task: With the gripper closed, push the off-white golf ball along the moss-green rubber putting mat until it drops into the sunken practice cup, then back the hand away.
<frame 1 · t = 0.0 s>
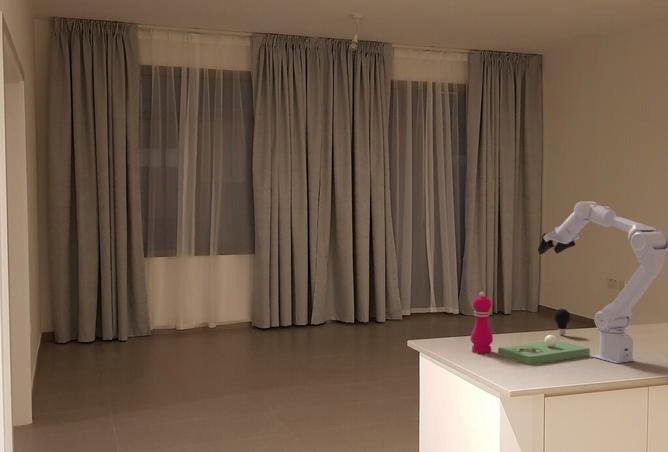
hand: (547, 251, 235), 32 cm above the countertop, tool tilted 50°, fingers open, 7 cm apart
putting mat: (543, 355, 216), on the countertop
pepper mill: (481, 352, 222), on the countertop
golf ball: (550, 341, 217), point 4 cm above the countertop, touching putting mat
light bulb: (561, 336, 248), on the countertop
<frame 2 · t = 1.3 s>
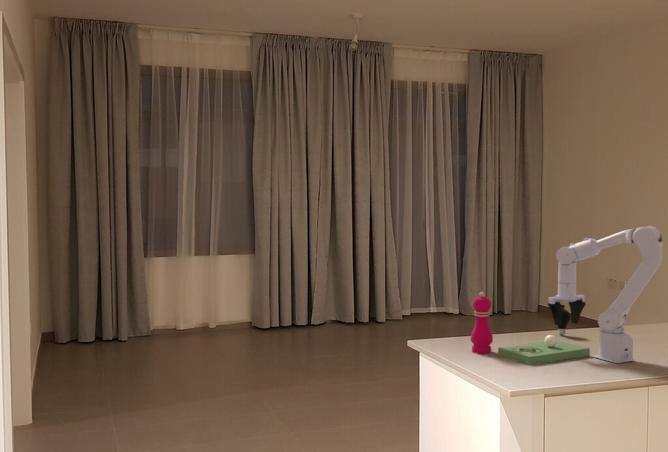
hand: (566, 324, 220), 9 cm above the countertop, tool pointing down, fingers open, 7 cm apart
nothing on the countertop moved.
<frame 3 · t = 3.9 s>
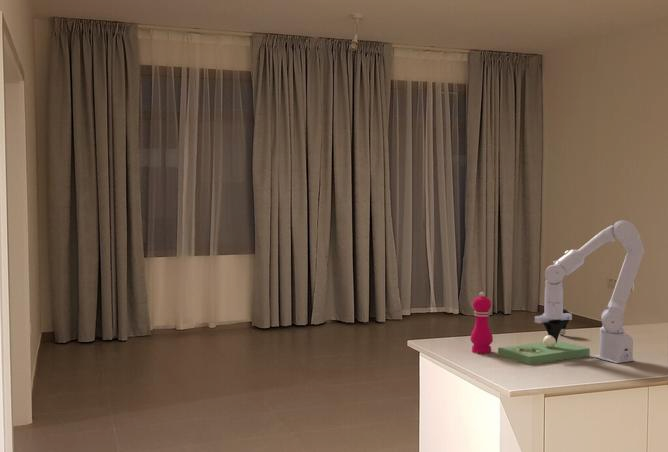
hand: (553, 343, 218), 4 cm above the countertop, tool pointing down, fingers closed, pressing on golf ball
golf ball: (549, 341, 217), point 4 cm above the countertop, tilted 17°, touching gripper, putting mat
everything else where it was.
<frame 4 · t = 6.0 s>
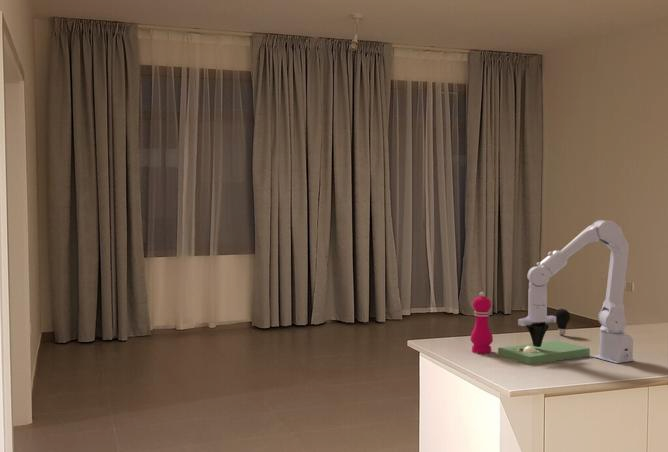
hand: (537, 346, 214), 3 cm above the countertop, tool pointing down, fingers closed
golf ball: (529, 352, 212), point 2 cm above the countertop, tilted 45°
everything else where it was.
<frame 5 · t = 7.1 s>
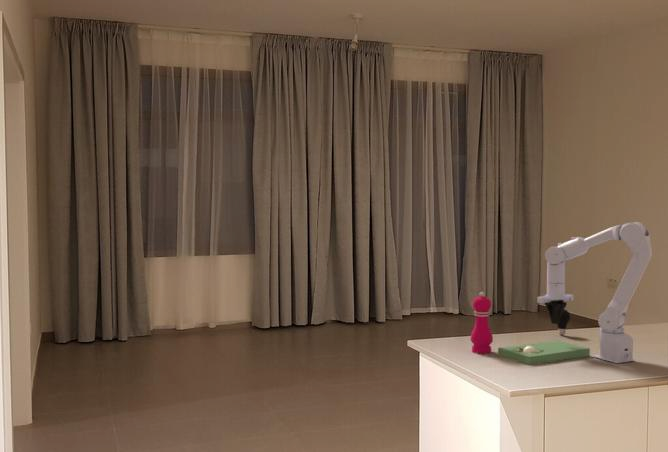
hand: (555, 323, 222), 9 cm above the countertop, tool pointing down, fingers closed
nothing on the countertop moved.
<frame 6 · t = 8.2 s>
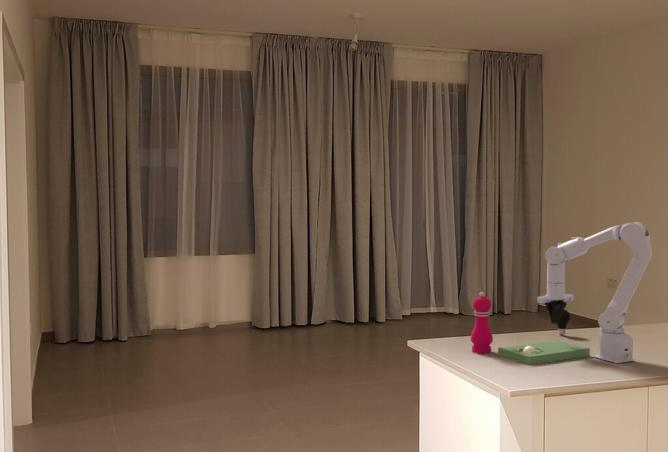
hand: (555, 323, 222), 9 cm above the countertop, tool pointing down, fingers closed
nothing on the countertop moved.
at the end: golf ball 0.7 cm from the target spot in the putting mat, point 2.0 cm above the putting mat's base; golf ball moved 10.3 cm from its start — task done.
